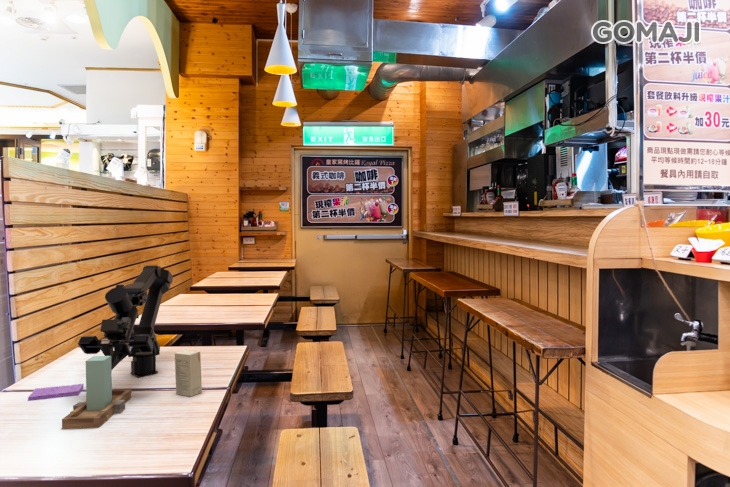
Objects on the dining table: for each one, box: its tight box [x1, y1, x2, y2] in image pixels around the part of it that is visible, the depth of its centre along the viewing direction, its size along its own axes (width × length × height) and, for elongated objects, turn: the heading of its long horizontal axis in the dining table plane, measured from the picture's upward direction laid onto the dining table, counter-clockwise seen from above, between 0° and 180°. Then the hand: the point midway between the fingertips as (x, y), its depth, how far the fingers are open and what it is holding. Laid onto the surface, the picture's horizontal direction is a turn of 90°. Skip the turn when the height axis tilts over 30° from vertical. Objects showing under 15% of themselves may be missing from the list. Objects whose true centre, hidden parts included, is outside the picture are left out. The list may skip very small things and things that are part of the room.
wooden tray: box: [61, 388, 133, 430], centre depth 122 cm, size 20×12×3 cm, turn 6°
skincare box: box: [174, 349, 203, 397], centre depth 135 cm, size 6×4×12 cm
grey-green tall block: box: [85, 355, 113, 411], centre depth 122 cm, size 4×4×13 cm
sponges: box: [27, 383, 84, 402], centre depth 135 cm, size 7×13×2 cm, turn 110°
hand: (107, 371), depth 127 cm, fingers closed
